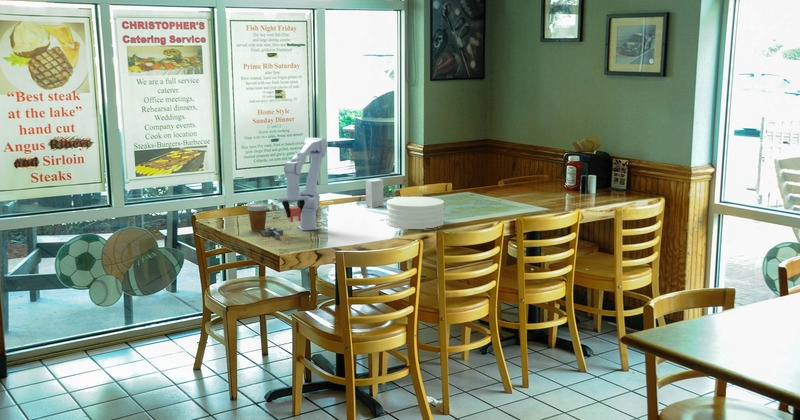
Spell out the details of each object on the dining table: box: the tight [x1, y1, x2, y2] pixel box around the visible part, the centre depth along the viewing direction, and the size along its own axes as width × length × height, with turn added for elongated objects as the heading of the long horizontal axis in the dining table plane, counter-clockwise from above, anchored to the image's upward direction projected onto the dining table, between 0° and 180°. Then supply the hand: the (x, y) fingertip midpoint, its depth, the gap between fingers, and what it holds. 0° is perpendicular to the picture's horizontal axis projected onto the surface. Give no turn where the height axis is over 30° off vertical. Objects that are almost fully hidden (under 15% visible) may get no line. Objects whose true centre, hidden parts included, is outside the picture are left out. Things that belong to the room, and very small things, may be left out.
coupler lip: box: [260, 226, 284, 240], centre depth 385 cm, size 15×9×3 cm, turn 22°
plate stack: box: [386, 196, 445, 230], centre depth 412 cm, size 28×28×12 cm
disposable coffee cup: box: [246, 202, 268, 232], centre depth 397 cm, size 10×10×12 cm
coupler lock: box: [286, 205, 301, 223], centre depth 386 cm, size 7×5×6 cm, turn 22°
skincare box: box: [365, 178, 385, 208], centre depth 458 cm, size 8×6×15 cm
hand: (293, 216), depth 386 cm, fingers closed on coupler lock, 5 cm apart
